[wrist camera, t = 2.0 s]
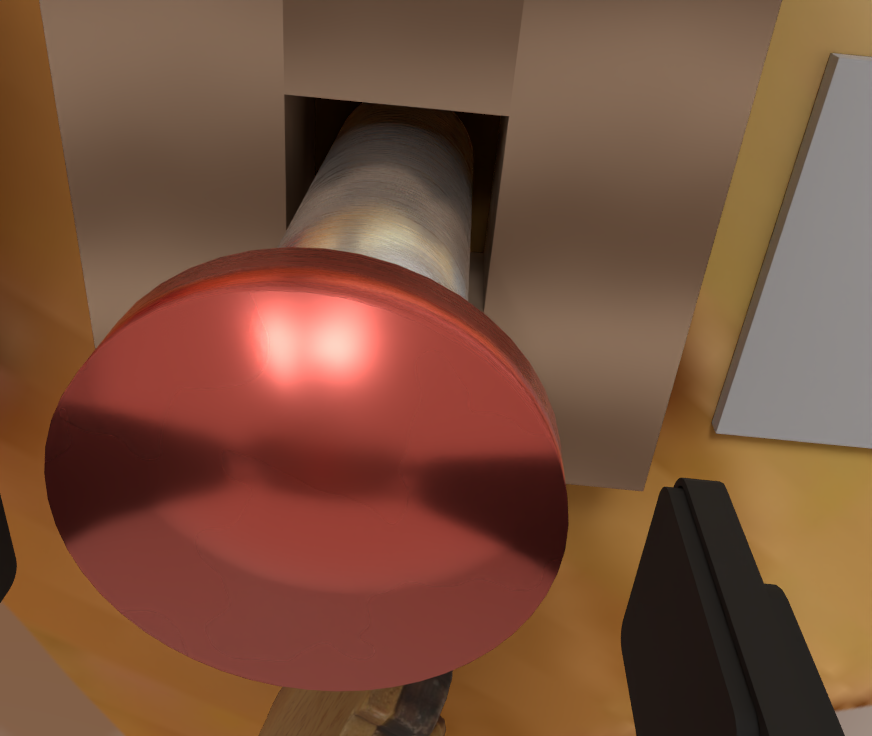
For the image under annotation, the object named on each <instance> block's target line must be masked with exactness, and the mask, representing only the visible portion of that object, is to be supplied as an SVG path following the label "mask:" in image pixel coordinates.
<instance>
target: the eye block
mask: <svg viewBox="0 0 872 736" xmlns="http://www.w3.org/2000/svg"><path fill="white" fill-rule="evenodd" d="M781 2H782V0H39V3H40V9H41V15H42V21H43V28H44V34H45V40H46V46H47V52H48V58H49V65H50V71H51V77H52V83H53V89H54V96H55V102H56V108H57V114H58V120H59V127H60V133H61V139H62V145H63V151H64V158H65V164H66V170H67V176H68V182H69V189H70V195H71V201H72V207H73V213H74V220H75V226H76V232H77V238H78V244H79V251H80V257H81V263H82V269H83V275H84V282H85V288H86V294H87V300H88V306H89V313H90V319H91V325H92V331H93V337H94V344H95V349H96V348H97V347H98V346H99V344H100V343H101V342H102V341H103V339H104V338H105V337H106V336H107V334H108V333H109V332H110V330H111V329H112V328H113V327H114V325H115V324H116V323H117V322H118V321H119V320H120V319H121V318H122V317H123V316H124V314H125V313H126V312H127V311H128V310H129V309H130V308H131V307H132V306H133V305H134V304H135V303H136V302H137V301H138V300H140V299H141V298H142V297H144V296H145V295H146V294H148V293H149V292H150V291H151V290H153V289H154V288H155V287H157V286H158V285H159V284H161V283H163V282H165V281H166V280H168V279H170V278H172V277H174V276H176V275H178V274H179V273H181V272H183V271H185V270H187V269H189V268H192V267H194V266H197V265H200V264H203V263H205V262H208V261H211V260H214V259H216V258H219V257H224V256H228V255H233V254H237V253H242V252H246V251H251V250H260V249H271V248H277V247H278V245H279V244H280V242H281V240H282V238H283V236H284V234H285V232H286V230H287V229H288V227H289V225H290V223H291V221H292V219H293V217H294V216H295V214H296V212H297V210H298V208H299V206H300V204H301V203H302V201H303V199H304V197H305V195H306V193H307V191H308V190H309V188H310V186H311V184H312V182H313V180H314V178H315V97H317V98H327V99H337V100H347V101H358V102H368V103H378V104H389V105H399V106H409V107H419V108H430V109H440V110H450V111H460V112H471V113H481V114H491V115H501V118H500V126H499V134H498V143H497V151H496V159H495V167H494V175H493V183H492V191H491V199H490V207H489V216H488V224H487V232H486V240H485V248H484V253H478V252H470V266H469V291H468V302H470V303H471V304H472V305H474V306H475V307H476V308H478V309H479V310H480V311H482V312H483V313H484V314H486V315H487V316H488V317H489V318H490V319H491V320H492V321H493V322H494V323H495V324H496V325H497V326H499V327H500V328H501V329H502V330H503V331H504V332H505V333H506V334H507V335H508V336H509V337H510V338H511V339H512V341H513V342H514V343H515V344H516V346H517V347H518V348H519V350H520V351H521V352H522V353H523V355H524V356H525V357H526V358H527V360H528V361H529V362H530V364H531V366H532V367H533V369H534V371H535V373H536V374H537V376H538V378H539V380H540V381H541V383H542V385H543V387H544V388H545V391H546V393H547V396H548V399H549V401H550V404H551V406H552V409H553V412H554V414H555V419H556V424H557V428H558V433H559V438H560V444H561V452H562V460H563V467H564V475H565V483H566V484H573V485H584V486H594V487H604V488H615V489H625V490H635V491H643V490H644V487H645V483H646V480H647V476H648V472H649V469H650V465H651V462H652V458H653V455H654V451H655V448H656V444H657V441H658V437H659V434H660V430H661V426H662V423H663V419H664V416H665V412H666V409H667V405H668V402H669V398H670V395H671V391H672V388H673V384H674V380H675V377H676V373H677V370H678V366H679V363H680V359H681V356H682V352H683V349H684V345H685V342H686V338H687V335H688V331H689V327H690V324H691V320H692V317H693V313H694V310H695V306H696V303H697V299H698V296H699V292H700V289H701V285H702V281H703V278H704V274H705V271H706V267H707V264H708V260H709V257H710V253H711V250H712V246H713V243H714V239H715V235H716V232H717V228H718V225H719V221H720V218H721V214H722V211H723V207H724V204H725V200H726V197H727V193H728V190H729V186H730V182H731V179H732V175H733V172H734V168H735V165H736V161H737V158H738V154H739V151H740V147H741V144H742V140H743V136H744V133H745V129H746V126H747V122H748V119H749V115H750V112H751V108H752V105H753V101H754V98H755V94H756V90H757V87H758V83H759V80H760V76H761V73H762V69H763V66H764V62H765V59H766V55H767V52H768V48H769V45H770V41H771V37H772V34H773V30H774V27H775V23H776V20H777V16H778V13H779V9H780V6H781Z"/></svg>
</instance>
